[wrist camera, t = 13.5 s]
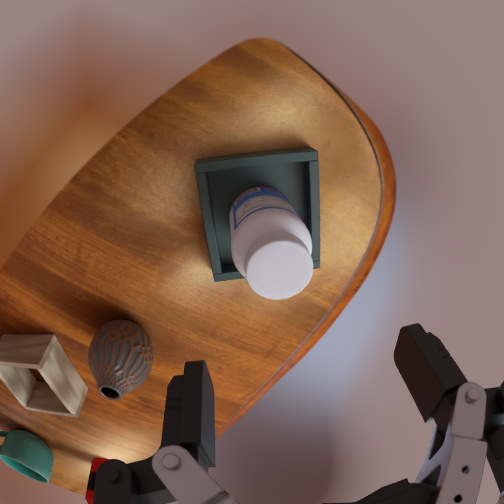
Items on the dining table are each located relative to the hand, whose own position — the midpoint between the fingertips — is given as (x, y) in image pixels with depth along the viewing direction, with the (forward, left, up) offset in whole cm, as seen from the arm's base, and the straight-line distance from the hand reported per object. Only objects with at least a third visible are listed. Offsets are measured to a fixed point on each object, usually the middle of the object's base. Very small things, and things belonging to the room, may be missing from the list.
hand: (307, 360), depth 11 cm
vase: (+12, -16, -17) cm, 27 cm away
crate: (+17, -32, -17) cm, 40 cm away
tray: (0, 0, -17) cm, 17 cm away
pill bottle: (0, 0, -17) cm, 17 cm away
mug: (+43, -57, -17) cm, 74 cm away
